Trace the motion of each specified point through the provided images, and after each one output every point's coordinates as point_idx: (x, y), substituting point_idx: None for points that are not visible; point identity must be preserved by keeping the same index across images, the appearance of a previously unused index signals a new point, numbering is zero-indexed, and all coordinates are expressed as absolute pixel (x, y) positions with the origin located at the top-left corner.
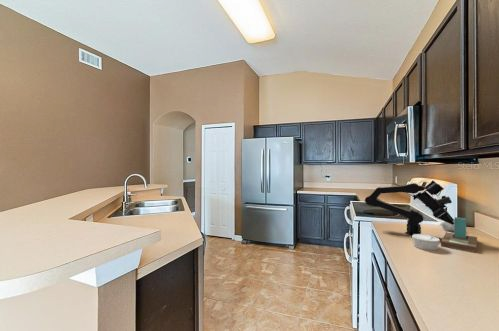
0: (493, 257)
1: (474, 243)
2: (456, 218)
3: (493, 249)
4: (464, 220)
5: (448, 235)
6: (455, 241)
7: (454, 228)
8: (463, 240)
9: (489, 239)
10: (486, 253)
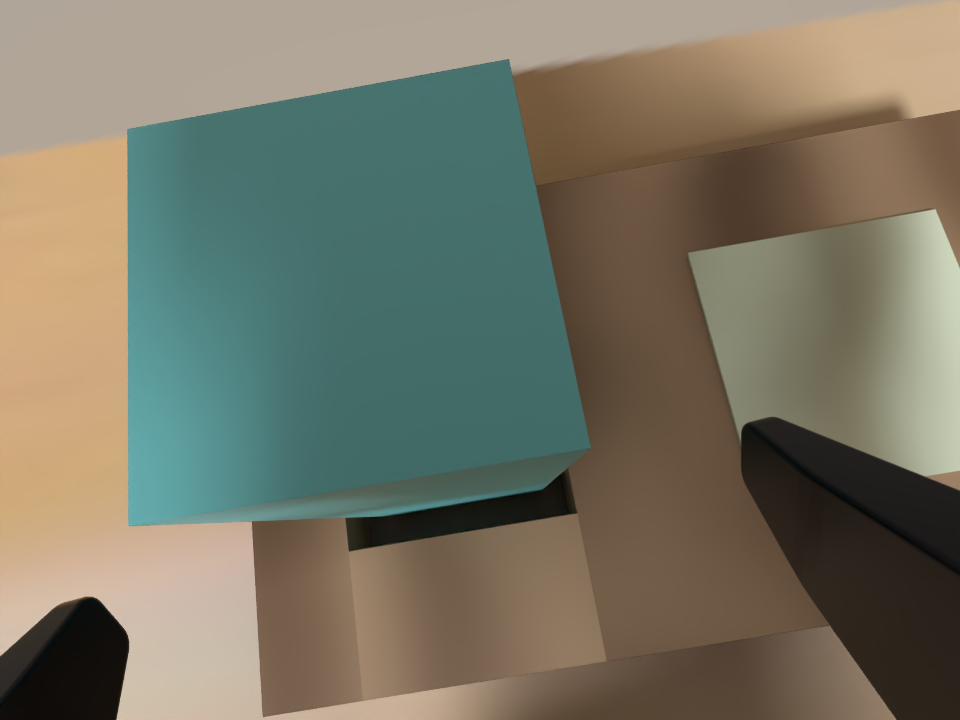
0: (917, 12)
1: (735, 171)
2: (485, 381)
3: (535, 75)
4: (513, 115)
5: (525, 598)
6: (917, 381)
7: (551, 478)
8: (687, 318)
9: (6, 200)
10: (813, 85)
